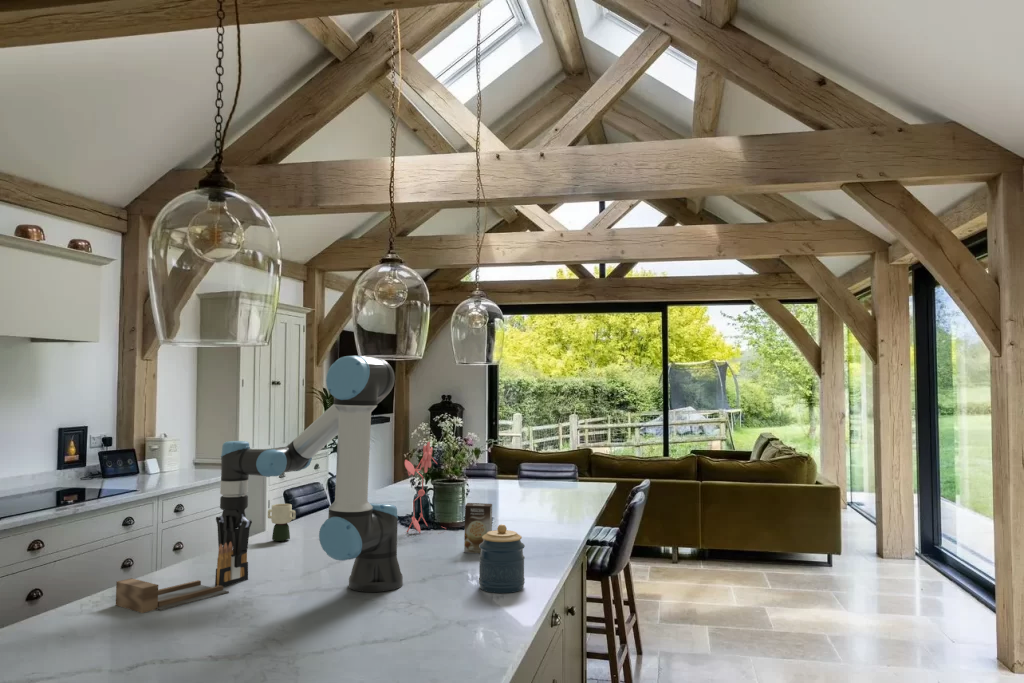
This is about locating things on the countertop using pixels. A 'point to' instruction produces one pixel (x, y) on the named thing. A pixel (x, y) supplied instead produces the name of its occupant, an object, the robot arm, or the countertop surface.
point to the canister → (501, 561)
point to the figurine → (427, 464)
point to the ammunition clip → (229, 567)
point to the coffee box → (476, 525)
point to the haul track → (161, 594)
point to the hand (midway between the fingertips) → (232, 577)
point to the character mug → (281, 520)
